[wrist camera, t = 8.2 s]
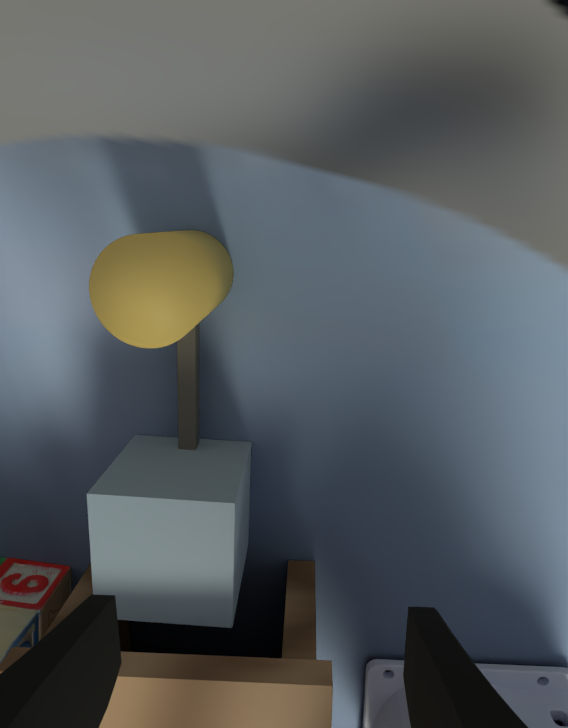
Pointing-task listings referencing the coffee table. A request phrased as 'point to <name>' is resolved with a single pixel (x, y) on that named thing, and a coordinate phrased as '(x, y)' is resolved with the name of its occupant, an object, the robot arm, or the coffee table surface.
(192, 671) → the open wooden box
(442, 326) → the coffee table surface
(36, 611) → the stack of blocks
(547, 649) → the coffee table surface
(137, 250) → the cube joystick
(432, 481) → the coffee table surface
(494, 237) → the coffee table surface
